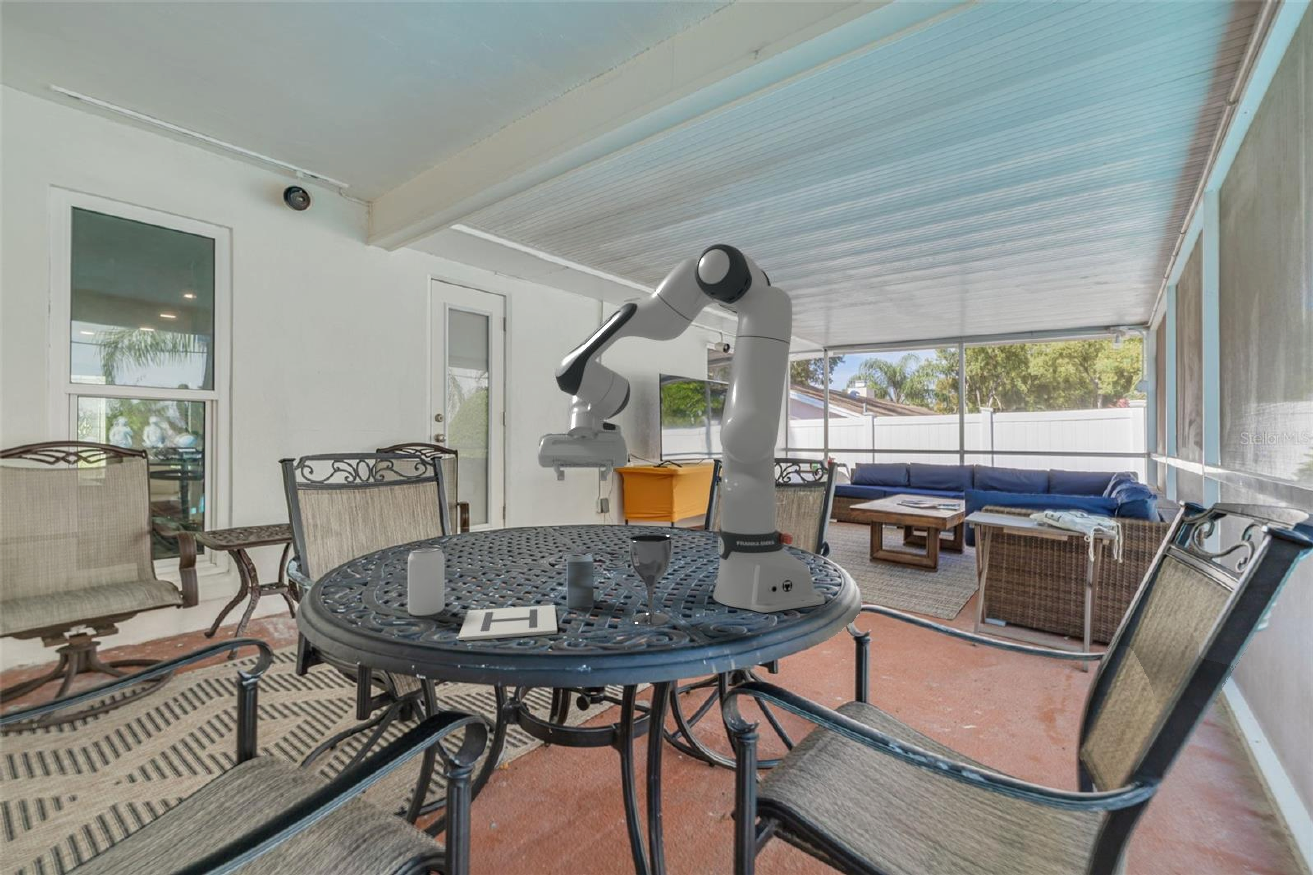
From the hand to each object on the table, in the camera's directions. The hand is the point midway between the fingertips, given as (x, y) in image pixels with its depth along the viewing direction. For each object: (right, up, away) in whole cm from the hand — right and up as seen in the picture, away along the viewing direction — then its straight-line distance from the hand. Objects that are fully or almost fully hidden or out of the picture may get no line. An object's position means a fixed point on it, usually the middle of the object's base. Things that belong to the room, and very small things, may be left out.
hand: (582, 479), depth 124 cm
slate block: (+1, -24, -12) cm, 27 cm away
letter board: (-10, -24, -24) cm, 35 cm away
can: (-27, -24, -17) cm, 40 cm away
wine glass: (+15, -24, -21) cm, 36 cm away
